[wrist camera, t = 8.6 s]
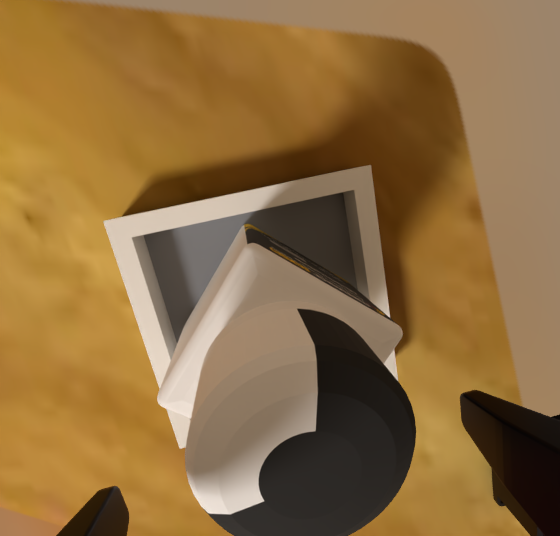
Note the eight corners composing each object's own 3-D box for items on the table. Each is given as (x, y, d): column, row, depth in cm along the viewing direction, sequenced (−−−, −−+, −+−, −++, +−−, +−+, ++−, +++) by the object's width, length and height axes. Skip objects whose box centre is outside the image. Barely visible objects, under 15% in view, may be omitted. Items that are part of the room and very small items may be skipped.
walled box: (354, 167, 19) (370, 164, 16) (381, 369, 22) (399, 391, 20) (121, 216, 18) (103, 221, 16) (186, 419, 21) (179, 448, 19)
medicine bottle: (350, 282, 20) (508, 416, 8) (287, 379, 21) (349, 620, 9) (244, 220, 18) (257, 278, 7) (182, 328, 19) (98, 542, 8)
